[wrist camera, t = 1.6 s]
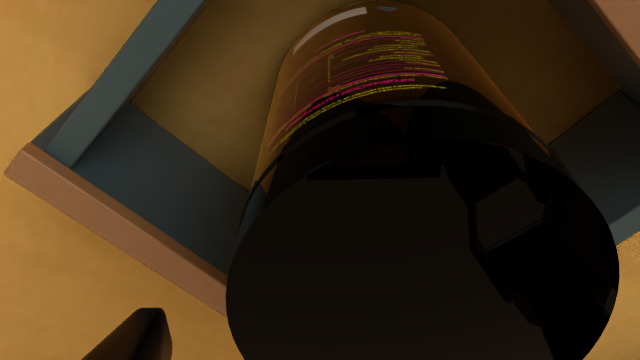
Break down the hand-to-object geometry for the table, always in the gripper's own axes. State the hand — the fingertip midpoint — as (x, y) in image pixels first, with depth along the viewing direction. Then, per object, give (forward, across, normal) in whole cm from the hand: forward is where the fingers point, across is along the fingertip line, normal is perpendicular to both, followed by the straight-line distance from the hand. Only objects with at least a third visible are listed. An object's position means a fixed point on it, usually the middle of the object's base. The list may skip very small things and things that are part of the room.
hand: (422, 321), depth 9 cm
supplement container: (+11, 0, 0) cm, 11 cm away
